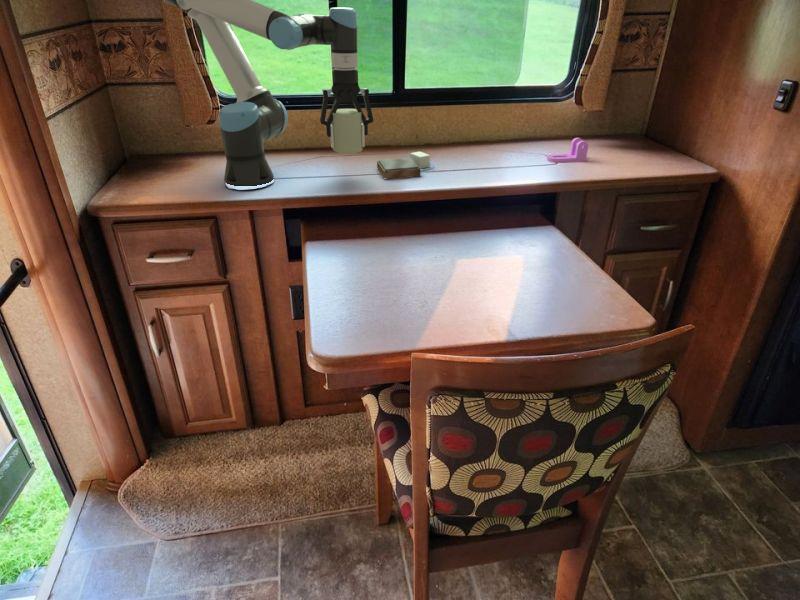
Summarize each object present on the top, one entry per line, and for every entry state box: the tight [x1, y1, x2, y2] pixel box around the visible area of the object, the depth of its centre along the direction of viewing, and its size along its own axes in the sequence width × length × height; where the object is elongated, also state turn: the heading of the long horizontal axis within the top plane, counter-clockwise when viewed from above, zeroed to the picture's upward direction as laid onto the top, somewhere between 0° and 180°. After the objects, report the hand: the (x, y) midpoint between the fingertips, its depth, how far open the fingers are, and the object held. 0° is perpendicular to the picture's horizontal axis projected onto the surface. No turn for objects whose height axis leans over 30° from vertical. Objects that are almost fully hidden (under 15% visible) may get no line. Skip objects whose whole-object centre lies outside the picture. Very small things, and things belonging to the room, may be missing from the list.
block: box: [409, 151, 431, 169], centre depth 178 cm, size 4×6×4 cm, turn 31°
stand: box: [376, 157, 422, 179], centre depth 172 cm, size 12×12×3 cm
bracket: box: [546, 137, 589, 164], centre depth 181 cm, size 13×6×7 cm, turn 97°
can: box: [331, 108, 363, 155], centre depth 160 cm, size 9×9×12 cm
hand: (347, 146), depth 163 cm, fingers closed on can, 9 cm apart
